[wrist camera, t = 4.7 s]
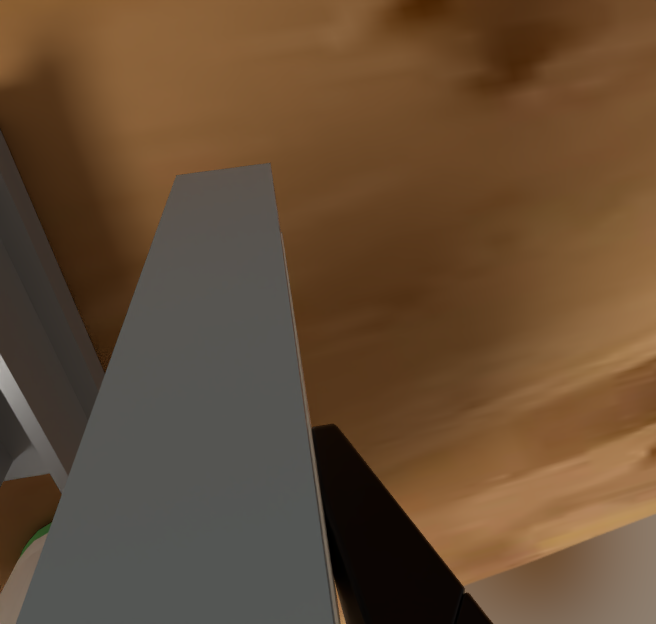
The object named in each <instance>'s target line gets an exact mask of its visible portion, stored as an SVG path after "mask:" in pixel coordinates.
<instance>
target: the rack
mask: <svg viewBox="0 0 656 624" xmlns="http://www.w3.org/2000/svg"><path fill="white" fill-rule="evenodd" d="M104 376H105V373H104V371H103V368H102V366H101V364H100V361H99V359H98V357H97V354H96V352H95V350H94V347H93V345H92V343H91V340H90V338H89V336H88V333H87V331H86V329H85V326H84V324H83V322H82V319H81V317H80V315H79V312H78V310H77V308H76V305H75V303H74V301H73V298H72V296H71V294H70V291H69V289H68V286H67V284H66V282H65V279H64V277H63V275H62V272H61V270H60V268H59V265H58V263H57V261H56V258H55V256H54V254H53V251H52V249H51V247H50V244H49V242H48V240H47V237H46V235H45V233H44V230H43V228H42V226H41V223H40V221H39V219H38V216H37V214H36V212H35V209H34V207H33V205H32V202H31V200H30V198H29V195H28V193H27V191H26V188H25V186H24V184H23V181H22V179H21V177H20V174H19V172H18V170H17V167H16V165H15V163H14V160H13V158H12V156H11V153H10V151H9V148H8V146H7V144H6V141H5V139H4V137H3V134H2V132H1V130H0V487H1V485H2V483H3V481H7V480H13V479H19V478H25V477H31V476H37V475H43V474H49V473H50V475H51V476H52V478H53V480H54V482H55V483H56V485H57V487H58V488H59V490H60V492H61V494H62V493H63V490H64V487H65V485H66V482H67V479H68V476H69V473H70V471H71V468H72V465H73V462H74V459H75V457H76V454H77V451H78V448H79V446H80V443H81V440H82V437H83V434H84V432H85V429H86V426H87V423H88V420H89V418H90V415H91V412H92V409H93V406H94V404H95V401H96V398H97V395H98V393H99V390H100V387H101V384H102V381H103V379H104Z"/></svg>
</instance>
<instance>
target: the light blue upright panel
mask: <svg viewBox="0 0 656 624" xmlns="http://www.w3.org/2000/svg"><path fill="white" fill-rule="evenodd" d="M16 624H341V621H340V615H339V608H338V601H337V595H336V588H335V581H334V576H333V569H332V563H331V556H330V550H329V543H328V537H327V530H326V524H325V517H324V511H323V504H322V498H321V491H320V484H319V477H318V470H317V463H316V457H315V450H314V443H313V436H312V426H311V420H310V413H309V407H308V400H307V394H306V387H305V380H304V374H303V367H302V361H301V354H300V348H299V341H298V334H297V328H296V321H295V315H294V308H293V302H292V295H291V288H290V282H289V275H288V269H287V262H286V256H285V249H284V242H283V236H282V232H281V229H280V222H279V216H278V209H277V203H276V196H275V190H274V183H273V177H272V170H271V164H270V163H266V164H258V165H251V166H243V167H236V168H228V169H220V170H213V171H205V172H198V173H190V174H182V175H176V178H175V180H174V183H173V186H172V189H171V192H170V194H169V197H168V200H167V203H166V206H165V208H164V211H163V214H162V217H161V220H160V222H159V225H158V228H157V231H156V233H155V236H154V239H153V242H152V245H151V247H150V250H149V253H148V256H147V259H146V261H145V264H144V267H143V270H142V273H141V275H140V278H139V281H138V284H137V286H136V289H135V292H134V295H133V298H132V300H131V303H130V306H129V309H128V312H127V314H126V317H125V320H124V323H123V326H122V328H121V331H120V334H119V337H118V339H117V342H116V345H115V348H114V351H113V353H112V356H111V359H110V362H109V365H108V367H107V370H106V373H105V376H104V379H103V381H102V384H101V387H100V390H99V393H98V395H97V398H96V401H95V404H94V406H93V409H92V412H91V415H90V418H89V420H88V423H87V426H86V429H85V432H84V434H83V437H82V440H81V443H80V446H79V448H78V451H77V454H76V457H75V459H74V462H73V465H72V468H71V471H70V473H69V476H68V479H67V482H66V485H65V487H64V490H63V493H62V496H61V499H60V501H59V504H58V507H57V510H56V512H55V515H54V518H53V521H52V524H51V526H50V529H49V532H48V535H47V538H46V540H45V543H44V546H43V549H42V552H41V554H40V557H39V560H38V563H37V565H36V568H35V571H34V574H33V577H32V579H31V582H30V585H29V588H28V591H27V593H26V596H25V599H24V602H23V605H22V607H21V610H20V613H19V616H18V618H17V621H16Z"/></svg>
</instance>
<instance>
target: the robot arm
mask: <svg viewBox="0 0 656 624" xmlns="http://www.w3.org/2000/svg"><path fill="white" fill-rule="evenodd" d="M312 436H313V443H314V450H315V457H316V463H317V470H318V477H319V484H320V491H321V498H322V504H323V511H324V517H325V524H326V530H327V537H328V543H329V550H330V556H331V563H332V569H333V576H334V580H335V584H336V588H337V591H338V595H339V599H340V602H341V606H342V610H343V614H344V617H345V621H346V624H493V623H492V622H491V620H490V619H489V618H488V617H487V615H486V614H485V613H484V612H483V610H482V609H481V608H480V607H479V605H478V604H477V603H476V601H475V600H474V599H473V598H472V596H471V595H470V594H469V593H465V588H464V587H463V585H462V584H461V583H460V581H459V580H458V579H457V578H456V576H455V575H454V574H453V573H452V571H451V570H450V569H449V567H448V566H447V565H446V564H445V562H444V561H443V560H442V559H441V557H440V556H439V555H438V554H437V552H436V551H435V550H434V548H433V547H432V546H431V545H430V543H429V542H428V541H427V540H426V538H425V537H424V536H423V534H422V533H421V532H420V531H419V529H418V528H417V527H416V526H415V524H414V523H413V522H412V521H411V519H410V518H409V517H408V515H407V514H406V513H405V512H404V510H403V509H402V508H401V507H400V505H399V504H398V503H397V501H396V500H395V499H394V498H393V496H392V495H391V494H390V493H389V491H388V490H387V489H386V488H385V486H384V485H383V484H382V482H381V481H380V480H379V479H378V477H377V476H376V475H375V474H374V472H373V471H372V470H371V468H370V467H369V466H368V465H367V463H366V462H365V461H364V460H363V458H362V457H361V456H360V455H359V453H358V452H357V451H356V449H355V448H354V447H353V446H352V444H351V443H350V442H349V441H348V439H347V438H346V437H345V435H344V434H343V433H342V432H341V430H340V429H339V428H338V427H337V426H336V425H334V424H328V425H322V426H316V427H313V428H312Z"/></svg>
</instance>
